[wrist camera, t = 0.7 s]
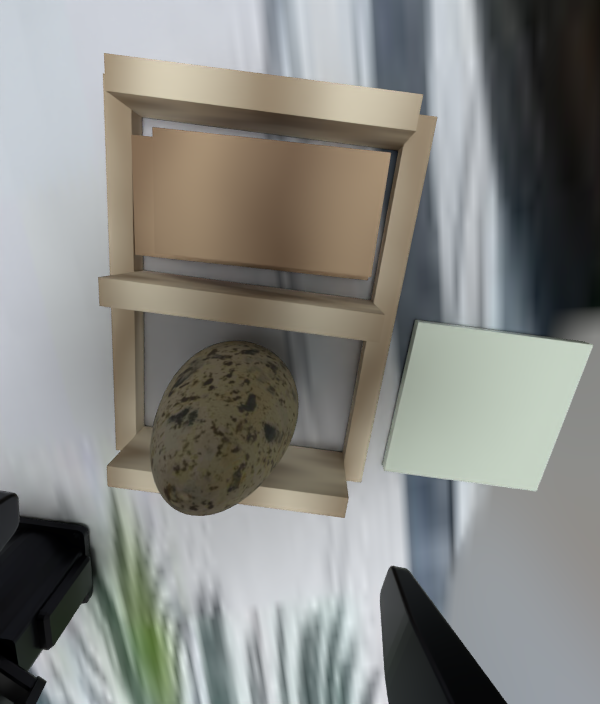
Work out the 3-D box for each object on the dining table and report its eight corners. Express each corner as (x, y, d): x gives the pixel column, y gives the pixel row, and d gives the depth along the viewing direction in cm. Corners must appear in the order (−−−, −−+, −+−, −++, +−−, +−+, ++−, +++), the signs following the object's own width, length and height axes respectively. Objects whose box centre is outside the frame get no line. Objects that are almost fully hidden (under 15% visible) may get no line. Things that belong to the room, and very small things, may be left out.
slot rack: (125, 440, 22) (84, 483, 18) (115, 83, 16) (53, 34, 12) (358, 471, 22) (368, 521, 18) (429, 124, 16) (466, 87, 12)
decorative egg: (275, 439, 21) (243, 600, 12) (182, 399, 21) (68, 534, 11) (318, 353, 19) (322, 459, 10) (218, 307, 19) (120, 373, 9)
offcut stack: (153, 253, 19) (111, 256, 15) (151, 146, 17) (104, 118, 13) (362, 276, 19) (374, 284, 15) (378, 171, 17) (396, 150, 13)
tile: (382, 464, 21) (384, 470, 21) (415, 319, 19) (418, 321, 18) (530, 484, 21) (536, 491, 21) (584, 341, 19) (593, 344, 18)
